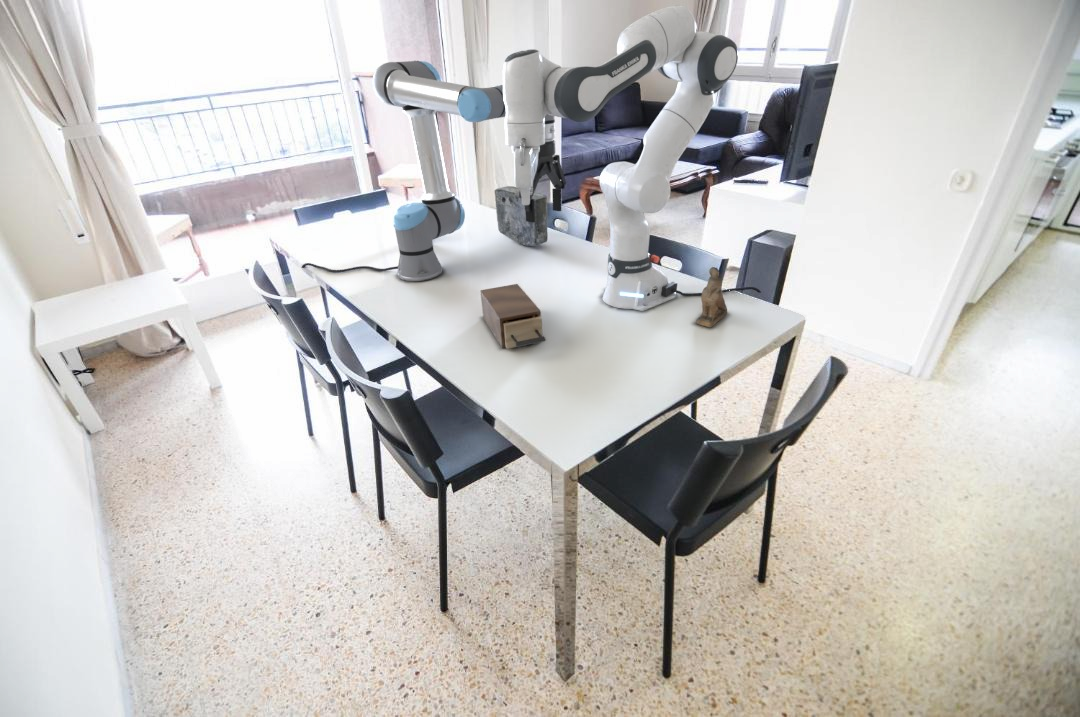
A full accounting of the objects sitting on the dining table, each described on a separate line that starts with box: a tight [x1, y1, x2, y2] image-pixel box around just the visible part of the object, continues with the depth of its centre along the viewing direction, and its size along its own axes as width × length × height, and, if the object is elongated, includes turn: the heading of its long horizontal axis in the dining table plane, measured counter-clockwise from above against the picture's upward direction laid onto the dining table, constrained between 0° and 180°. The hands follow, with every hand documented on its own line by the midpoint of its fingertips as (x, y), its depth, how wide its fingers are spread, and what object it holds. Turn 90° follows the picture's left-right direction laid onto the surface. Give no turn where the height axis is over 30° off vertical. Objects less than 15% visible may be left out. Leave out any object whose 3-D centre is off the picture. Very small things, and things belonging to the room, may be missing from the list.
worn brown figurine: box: [695, 266, 728, 328], centre depth 135 cm, size 12×6×18 cm, turn 136°
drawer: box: [503, 315, 546, 350], centre depth 132 cm, size 23×10×7 cm, turn 20°
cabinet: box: [479, 283, 542, 349], centre depth 136 cm, size 19×11×9 cm, turn 20°
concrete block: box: [494, 185, 549, 247], centre depth 196 cm, size 27×9×20 cm, turn 36°
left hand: (544, 216), depth 150 cm, fingers open, 13 cm apart
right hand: (527, 199), depth 118 cm, fingers open, 8 cm apart
